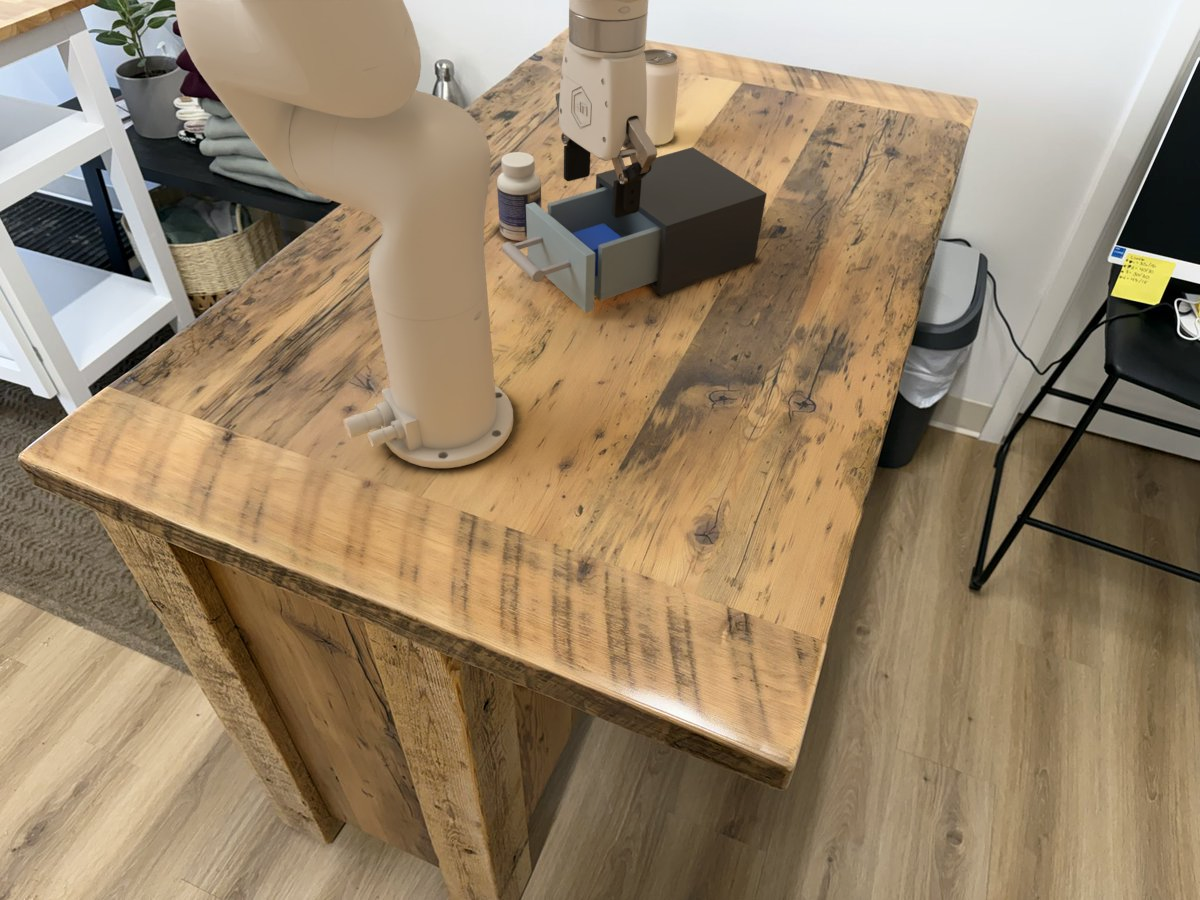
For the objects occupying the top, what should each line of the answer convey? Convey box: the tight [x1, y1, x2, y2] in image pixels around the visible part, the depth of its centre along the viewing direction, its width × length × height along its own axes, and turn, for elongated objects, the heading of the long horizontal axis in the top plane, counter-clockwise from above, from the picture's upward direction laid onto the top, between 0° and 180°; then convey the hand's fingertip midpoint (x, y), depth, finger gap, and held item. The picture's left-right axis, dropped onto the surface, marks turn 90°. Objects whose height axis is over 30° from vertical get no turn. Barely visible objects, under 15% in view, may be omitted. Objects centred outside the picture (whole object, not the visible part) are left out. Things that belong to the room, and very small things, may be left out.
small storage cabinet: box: [595, 147, 767, 297], centre depth 102 cm, size 15×14×9 cm
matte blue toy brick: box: [572, 223, 622, 276], centre depth 98 cm, size 4×4×4 cm
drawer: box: [501, 187, 662, 314], centre depth 97 cm, size 18×13×7 cm
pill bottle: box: [496, 151, 542, 242], centre depth 104 cm, size 5×5×10 cm
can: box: [643, 48, 680, 147], centre depth 124 cm, size 6×6×12 cm
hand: (600, 195), depth 93 cm, fingers open, 9 cm apart
